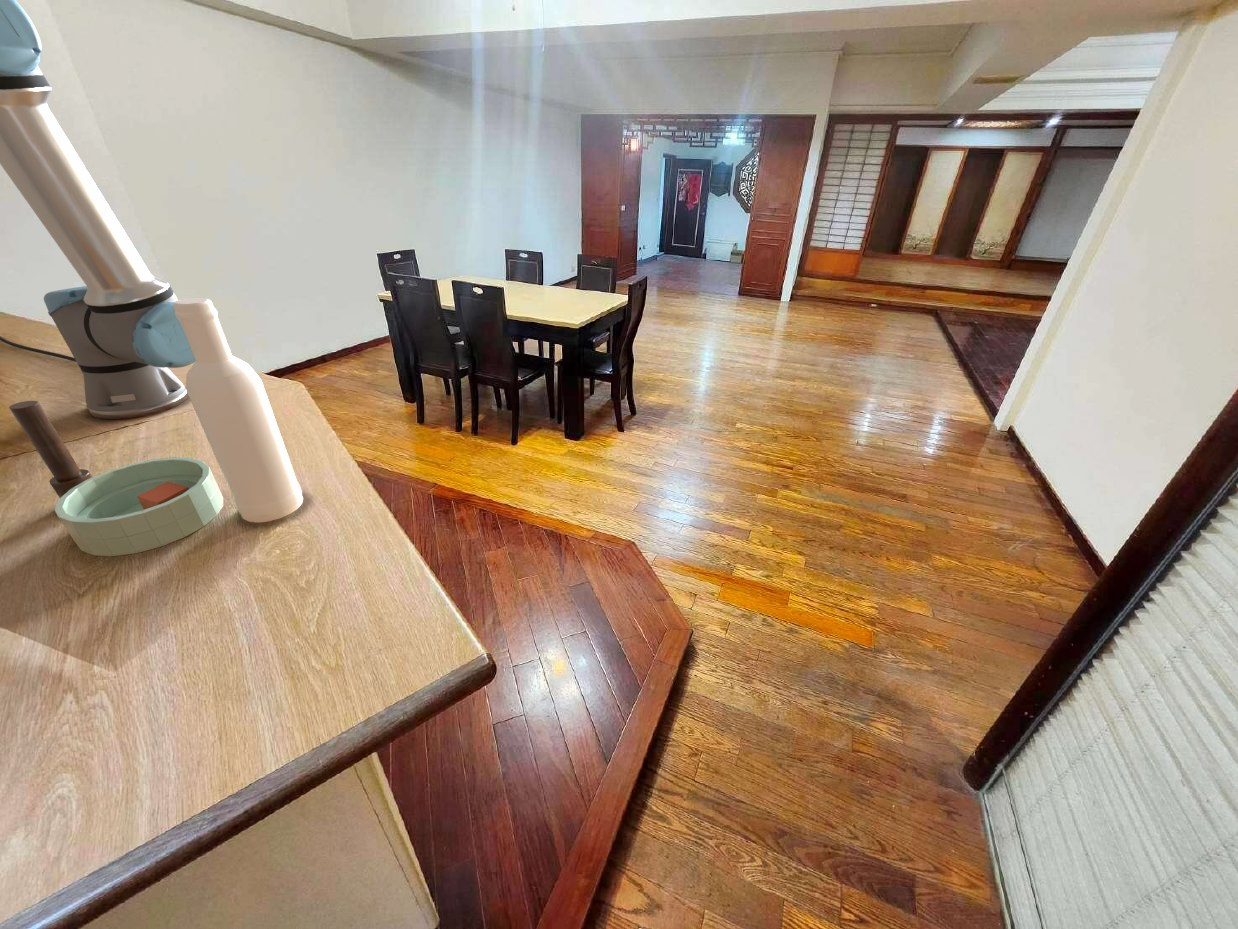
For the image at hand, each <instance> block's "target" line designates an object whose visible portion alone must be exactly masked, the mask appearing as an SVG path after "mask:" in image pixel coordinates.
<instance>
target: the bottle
mask: <svg viewBox="0 0 1238 929" xmlns="http://www.w3.org/2000/svg"><path fill="white" fill-rule="evenodd" d="M173 306H174V309H175V315H176V317H177V319H178V320H179V321H180V323H181V325H182V328H183V330H184V333H185V335H186V337H187V340H188V342H189V345H190V347H191V350H192V352H193V354H194V357H195V359H196V362H194V363H193V365H192V366H191V368H190V369H189V370H188V371H187V373H186V374H185V376H186V377H185V387H186V391H187V393H188V398H189V400H190V402H191V404H192V407H193V409H194V411H195V413H196V416H197V418H198V420H199V423H200V425H201V428H202V429H203V432H204V434H205V437H206V439H207V440H208V443H209V445H210V448H211V450H212V452H213V455H214V457H215V459H216V461H217V463H218V466H219V469H220V471H221V473H222V475H223V477H224V479H225V482H226V483H227V487H228V489H229V491H230V493H231V495H232V497H233V502H234V504H235V507H236V509H237V511H238V512H239V515H240V516H241V517H242V519H243V520H245V521H247V522H250V523H266V522H267V523H268V522H272V521H276V520H279V519H282V518H284V517H287V516H288V515H292V513H294V512H295V511H297V510H298V509H299V508H300V507H301V506H302V505H303V502H304V497H303V491H302V488H301V486H300V483H299V482H298V480H297V477H296V474H295V471H294V468H293V465H292V463H291V460H290V457H289V454H288V452H287V451H288V450H287V449H286V446H285V443H284V440H283V437H282V435H281V432H280V428H279V426H278V423H277V420H276V418H275V415H274V411H273V409H272V406H271V404H270V400H269V398H268V395H267V392H266V389H265V387H264V383H263V380H262V379H261V378H260V376H259V375H258V374H257V372H256V371H255V370H254V369H253V367H251V365H250V364H249V363H248V362H246V361H244V360H242V359H241V358H238V357H236V356H234V355H232V352H231V348H230V347H229V344H228V341H227V338H226V335H225V333H224V331H223V327H222V324H221V323H220V320H219V317H218V316H219V315H218V314H219V313H218V310H217V309H216V308H215V307H214V303H213V302H212V300H211V299H209V298H206V297H188V298H181V299H178V300H177V301H175V302H174V304H173Z"/></svg>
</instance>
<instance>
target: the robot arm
mask: <svg viewBox="0 0 1238 929" xmlns="http://www.w3.org/2000/svg"><path fill="white" fill-rule="evenodd" d="M42 52H43V49H42V42H41V38H40V35H39V32H38V30H37V28H36V27H35V25H34V23H33V21H32V19H31V18H30V16H29V15H28V13H27V12H26V10H25V9H24V8H23V6H21V4H20V3H19V2H18V1H17V0H0V166H1V168H2V169H3V170H4V171H5V173H6V174H7V175H8V177H9V179H10V180H11V181H12V183H13V185H14V186H15V187H16V188H17V190H18V191H19V193H20V194H21V196H22V197H23V198H24V200H25V201H26V203H27V204H28V205H29V207H30V208H31V209H32V211H33V213H34V214H35V215H36V216H37V218H38V219H39V221H40V222H41V224H42V226H44V228H45V229H46V231H47V232H48V233H49V235H50V236H51V238H52V239H53V240H54V242H55V244H56V245H57V246H58V248H59V249H60V251H61V252H62V254H63V255H64V256H65V257H66V259H67V260H68V262H69V263H70V264H71V266H72V268H73V269H74V270H75V271H76V273H77V274H78V276H79V278H81V280H82V281H83V283H84V284H85V285H83V286H77V287H70V288H64V289H58V290H53V291H49V292H46V293H45V294H44V296H43V301H44V304H45V306H46V309H47V314H48V315H49V317H51V319H52V321H53V322H54V324H55V326H56V328H57V330H58V331H59V333H60V334H61V336H62V338H63V340H64V342H65V343H66V346H67V347H68V349H69V351H70V353H71V355H72V356H70V355H66V354H61V353H57V352H53V351H48V350H44V349H39V348H34V347H30V346H26V345H22V344H19V343H15V342H13V341H10V340H8V339H7V338H4V337H3V336H1V335H0V341H1V342H2V343H3V344H7V345H10V346H12V347H15V348H19V349H22V350H24V351H30V352H34V353H37V354H42V355H46V356H51V357H56V358H59V359H65V360H67V361H71V362H75V363H77V365H78V367H79V368H80V370H81V372H82V376H83V384H84V395H85V397H84V398H85V404H86V407H87V410H88V411H89V413H90V415H91V416H92V417H94V418H98V419H104V420H105V419H106V420H122V419H130V418H131V419H132V418H138V417H139V418H140V417H144V416H149V415H152V414H158V413H160V412H164V411H167V410H170V409H173V408H175V407H177V406H179V405H181V404H182V403H184V402H185V401H186V400H188V398H189V396H188V393H187V391H186V385H184V383H183V382H182V381H181V380H180V379H179V378H178V376H176V375H175V373H173V371H172V370H171V369H180V368H184V367H188V366H190V365H192V364H194V363H195V362H196V359H195V357H194V354H193V352H192V350H191V347H190V345H189V342H188V340H187V337H186V335H185V333H184V330H183V328H182V325H181V323H180V321H179V320H178V319H177V317H176V315H175V309H174V306H173V304H174V302H175V301H177V300H179V299H178V296H177V295H176V293H175V292H174V290H173V289H172V287H171V285H170V284H169V282H168V281H167V280H165V279H162V278H160V277H157V276H156V275H153V274H152V273H151V272H150V270H149V269H148V267H147V265H146V263H145V262H144V260H143V259H142V257H141V255H140V254H139V252H138V251H137V249H136V247H135V246H134V244H133V242H132V241H131V239H130V238H129V236H128V235H127V233H126V231H125V229H124V228H123V226H122V224H121V223H120V221H119V220H118V219H117V217H116V215H115V213H114V211H113V209H111V207H110V205H109V203H108V202H107V200H106V199H105V197H104V195H103V194H102V192H101V191H100V189H99V187H98V186H97V184H96V182H95V181H94V179H93V178H92V175H91V174H90V173H89V171H88V169H87V168H86V166H85V164H84V163H83V161H82V160H81V158H80V156H79V155H78V153H77V152H76V150H75V148H74V147H73V144H72V143H71V141H70V140H69V139H68V137H67V135H66V133H65V132H64V130H63V129H62V127H61V125H60V124H59V122H58V120H57V118H56V117H55V115H54V114H53V113H52V111H51V110H50V108H49V105H48V101H49V98H50V96H51V93H52V91H53V88H52V87H51V85H50V84H49V82H48V80H47V78H46V77H45V75H44V73H43V72H42V70H41V68H40V66H39V64H40V62H41V53H42Z"/></svg>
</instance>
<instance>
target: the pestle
mask: <svg viewBox="0 0 1238 929" xmlns="http://www.w3.org/2000/svg"><path fill="white" fill-rule="evenodd" d="M8 408H9V410H10V412H11V413H12V414H13V416H14V418H15V419H16V421H17V422H18V424H19V425H20V427H21V429H22V430H23V431H24V433H25V435H26V436H27V438H28V439H29V441H30V442H31V444H32V446H33V447H34V448H35V450H36V452H37V453H38V454H39V456H40V458H41V459H42V461H43V462H44V463H45V465H46V466H47V468H48V470H49V472H50V473H51V475H52V476H53V477H51V478H50V479H49V481H48V482H49V484H50V486H51V487H52V489H53V490H54V492H55V493H56V495H57V496H58V498H59V499H60V498H61V497H62V496H63V495H64V494H65V493H67V492H68V491H69V490H70V489H71V488H73V487H75V486H77V485H79V484H80V483H82V482H84V481H86V480H87V479H89V478H92V477H93V476H92V474H91V472H90V470H88V469H84V468H80V467H79V466H78V464H77V462H76V460H75V459H74V457H73V456H72V454H71V452H70V451H69V449H68V447H67V446H66V444H65V443H64V441H63V439H62V438H61V436H60V435H59V433H58V431H57V429H56V428H55V427H54V425H53V423H52V421H51V419H49V417H48V415H47V413H46V412H45V410H44V409H43V407H42V405H41V403H40V402H39V401H38V400H24V401H20V402H19V401H18V402H16V403H13V404H12V405H9V407H8Z"/></svg>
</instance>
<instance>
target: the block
mask: <svg viewBox="0 0 1238 929" xmlns="http://www.w3.org/2000/svg"><path fill="white" fill-rule="evenodd" d="M187 490H189V488H188V487H186V486H182V485H179V484H175V483H171V482H165V483H163V484H161V485H159V486H157V487H155V488H153V489H151V490H149V491H147V492H145V493H143V494H141V495H138V496H137V498H138V500H139V502H140V503H141V505H142V507H143V509H144V510H145V509H148V508H151V507H154V506H157V505H160V504H162V503H165V502H167V501H169V500H171V499H173V498H175V497H177V496H179V495H182V494H183V493H185V492H186V491H187Z"/></svg>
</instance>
